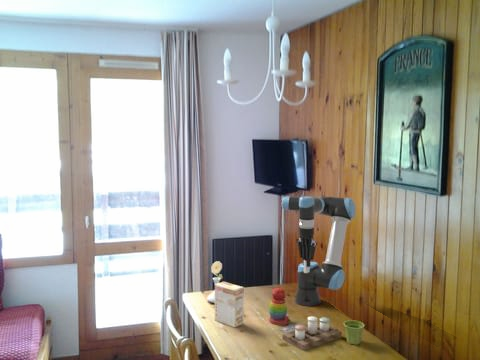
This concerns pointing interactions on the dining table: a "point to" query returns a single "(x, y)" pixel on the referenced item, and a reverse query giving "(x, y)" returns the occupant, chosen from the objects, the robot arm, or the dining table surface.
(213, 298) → the flower in vase
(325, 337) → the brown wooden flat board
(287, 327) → the card
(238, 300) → the coffeecake box
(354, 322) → the plant pot
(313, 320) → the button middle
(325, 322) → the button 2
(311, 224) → the robot arm
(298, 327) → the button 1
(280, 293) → the stacking bear
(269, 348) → the dining table surface
